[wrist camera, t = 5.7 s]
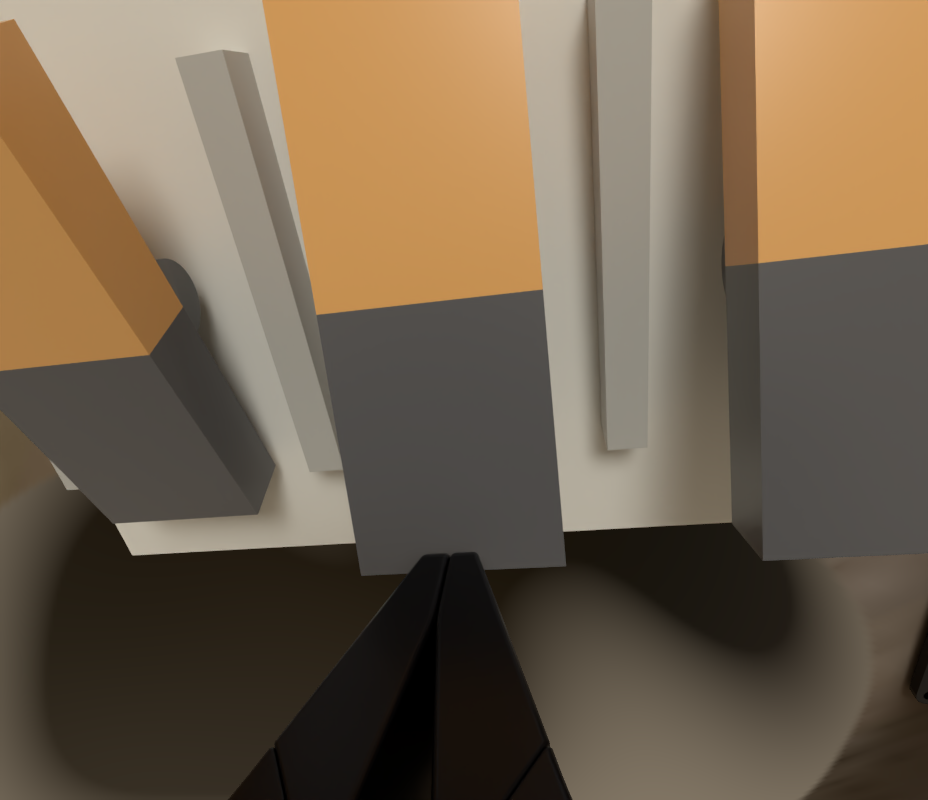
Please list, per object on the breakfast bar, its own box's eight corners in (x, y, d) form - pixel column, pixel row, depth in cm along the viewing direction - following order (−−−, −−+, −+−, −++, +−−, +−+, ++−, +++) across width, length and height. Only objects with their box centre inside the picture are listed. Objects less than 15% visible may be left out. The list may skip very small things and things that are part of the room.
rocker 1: (287, 434, 14) (257, 514, 12) (158, 445, 15) (113, 523, 13) (57, 5, 8) (-63, 43, 6) (-149, 47, 9) (-313, 94, 7)
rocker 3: (909, 490, 11) (1016, 549, 8) (714, 502, 11) (763, 560, 9) (929, -49, 9) (1068, -165, 7) (698, -7, 9) (752, -103, 7)
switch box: (834, 431, 17) (947, 552, 12) (204, 478, 19) (114, 590, 15) (962, -251, 10) (1304, -511, 6) (-18, -38, 13) (-295, -104, 8)
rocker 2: (559, 505, 12) (566, 566, 9) (393, 516, 12) (361, 576, 10) (517, 16, 10) (513, -63, 7) (321, 50, 10) (260, -12, 8)
